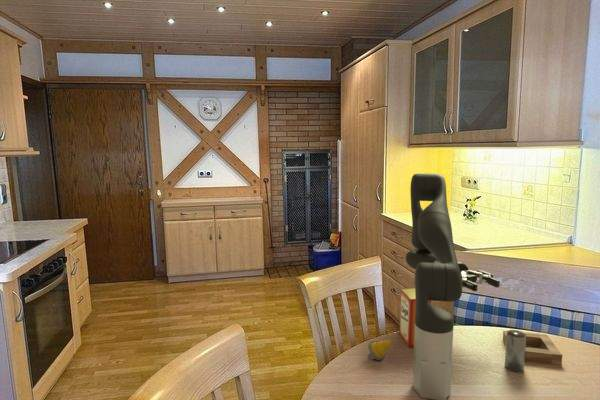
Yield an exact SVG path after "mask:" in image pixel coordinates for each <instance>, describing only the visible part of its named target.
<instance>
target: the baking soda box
mask: <svg viewBox="0 0 600 400" xmlns="http://www.w3.org/2000/svg"><path fill="white" fill-rule="evenodd" d="M429 302H430V303H431V304H432V300H429ZM415 308H416V296H415V287H410V288H408V287H406V288H400V291H399V322H398V324H399V325H398V326H399V328H398V329H399V330H398V333H399V336H400V337H401V338H402V339H403V341H404V342H405V343H406V345H407V346H408V348H409V349H410V348H414V333H415Z"/></svg>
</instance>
